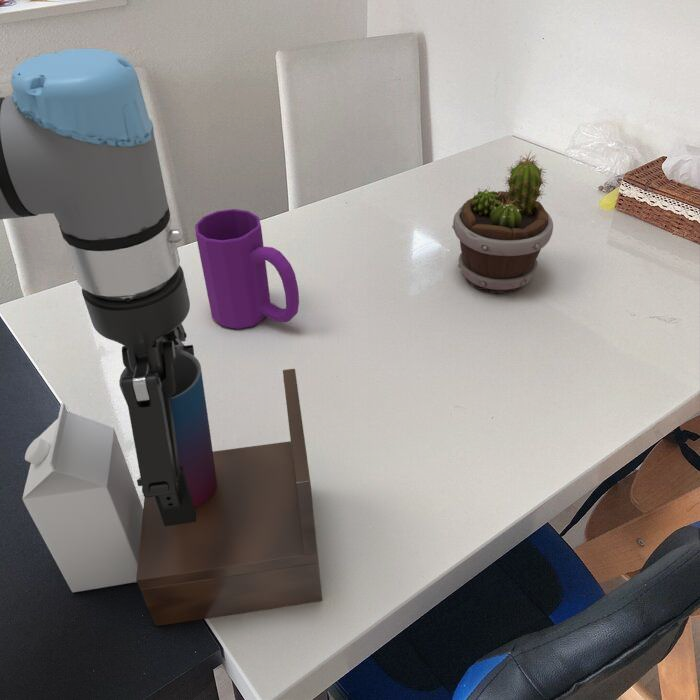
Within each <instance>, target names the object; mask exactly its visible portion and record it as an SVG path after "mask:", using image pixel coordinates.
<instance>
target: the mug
mask: <svg viewBox="0 0 700 700" xmlns="http://www.w3.org/2000/svg"><path fill="white" fill-rule="evenodd" d="M194 229H195V230H194V231H195V237H196V243H197V247H198V253H199V258H200V263H201V269H202V273H203V277H204V283H205V288H206V294H207V298H208V303H209V309H210V314H211V318H212V320H213V321H215V322H216V323H218V325H220V326H221V327H225V328H231V329H236V330H237V329H244V328H250V327H251V328H252V327H254V326H255V325H257V324H259V323H260V322H261V321H262V320H263V319H265V318H266V317H267V318H268V319H270V320H271V321H275V322H278V323H288V322H290V321H291V320H292V319H293V318H294V317H295V316H296V315H297V314H298V312H299V306H300V294H299V286H298V281H297V276H296V272H295V271H294V268H293V267H292V264H291V263H290V261H289V259H287V258H286V256H285V255H284V254H283V253H282V252H281V251H280V250H279V249H277V248H274V247H273V246H272V247H271V246H264V238H263V231H262V223H261V220H260V217H259V215H256V214H254V213H252V212H251V211H250V210H245V209H238V208H237V209H236V208H230V209H223V210H216V211H214V212H211V213H209V214H207V215H204V216H202V218H200V219H199V220H198V222H197V223H195V225H194ZM267 262H268V263H270V264H271V265H272V266H273V267H274V268H275V270H276V272H277V273H278V275H279V278H280V279H281V283H282V287H283V290H284V296H285V308H282V307H280V306H278V305H277V304H274V303H272V301H271V295H270V288H269V287H270V286H269V279H268V270H267Z"/></svg>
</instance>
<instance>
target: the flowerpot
mask: <svg viewBox="0 0 700 700" xmlns="http://www.w3.org/2000/svg"><path fill="white" fill-rule="evenodd" d="M532 151H533V150H530V152H529V154H528V155H527V153H525V156H526V158H525V157H523V156H522V155H519V159H520V160H519V159H517V160H515V162H514V164H515V166H514V164H513V163H512V164H511V166H510V167H506V168H507V170H506V171H505V172H509V173H507V175H505V177H504V178H505V180H503V179H502V181H505V183H504V186H503V187H504V188H508V189H505V190H503V191H502V190H499V191H495V190H491V189H490V188H491V187H490V185H489V186H486V188H485V189H484V188H482V190H481V188H478V190H477V193H473V197H471V198H469V199H467V200H466V201H465V202H464V203H463V205H461V206H460V207H459V208H458V210H457V211H456V212H455V214H454V216H453V220H452V226H451V228H452V229H453V231H454V234H455V236H456V237H457V239H458V240H459V245H460V251H461V252H460V254H459V256H458V265H457V267H458V269H460V272H461V274H462V276H463V277H464V278H465V280H466V281H467V282H468V283H469V284H470V285H472V286H473V287H474V288H476V289H478V290H485V289H488V290H489V291H490V293H492V294H499V293H505V294H507V293H513V292H515V291H519V290H521V289H522V288H524V286H525V285H527V284H528V283H529V282H530V281H531V280H532V278H533V277H534V275H535V273H536V270H537V268H538V260H537V259H538V257H539V254H540V253H541V250H542V249H543V248H545V246H547V244H548V243H549V242H550V240H551V238H552V235H553V231H554V221H553V219H552V217H551V216H550V213H548V212H547V211H546V209H545V207H544V206H543V204H542V203H541V202H540V201H541V200H543V197H542V196H546V195H547V194H546V193H545V194H544V190H542V189H543V187H546V186H545V184H547V185H549V183H547V180H546V179H544V174H546V168H543V167H541V164H539V163H540V162H539V161H537V160H535V159H536V157H538V156H537V155H536V154H534V155H532V156H531V153H532ZM530 156H531V157H530ZM529 157H530V158H529ZM540 188H541V189H540ZM490 190H491V191H490Z"/></svg>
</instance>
